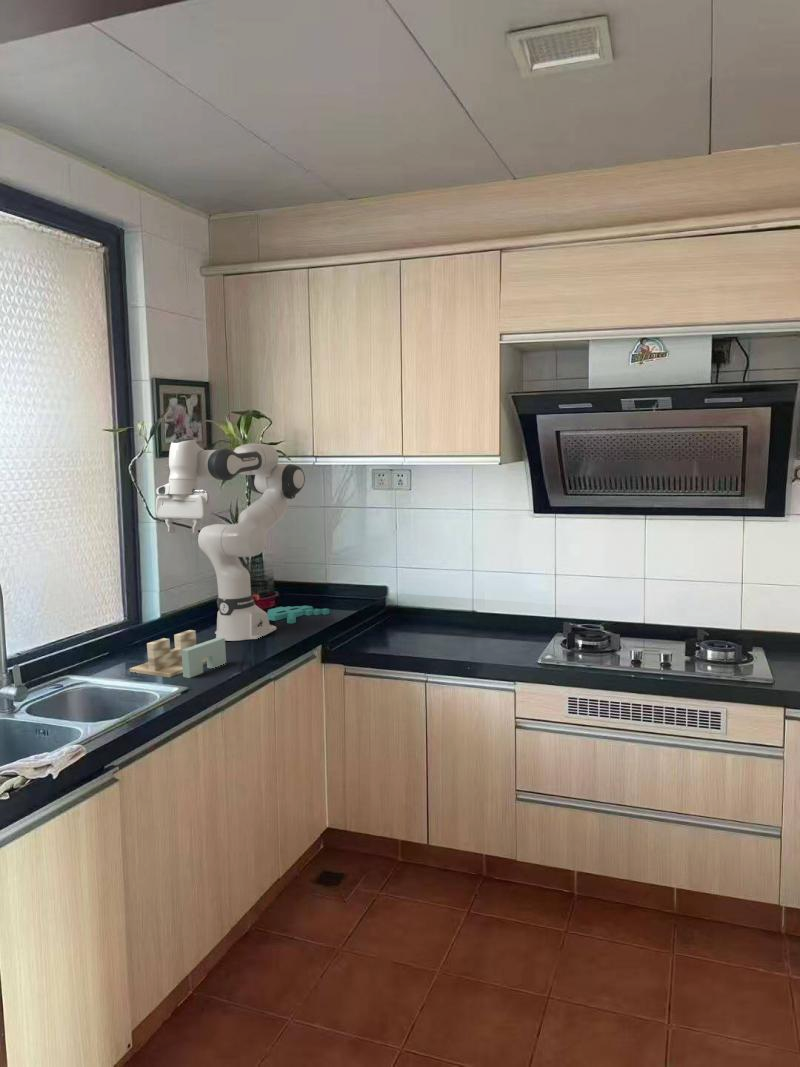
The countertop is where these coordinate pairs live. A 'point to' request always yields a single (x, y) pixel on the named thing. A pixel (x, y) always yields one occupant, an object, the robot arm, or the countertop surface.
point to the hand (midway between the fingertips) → (182, 533)
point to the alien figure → (293, 612)
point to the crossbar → (203, 656)
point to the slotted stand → (167, 655)
